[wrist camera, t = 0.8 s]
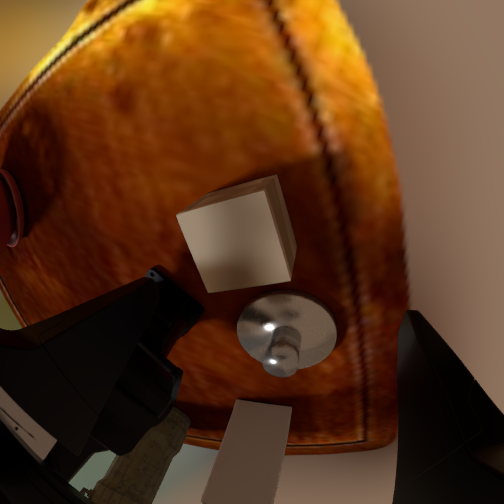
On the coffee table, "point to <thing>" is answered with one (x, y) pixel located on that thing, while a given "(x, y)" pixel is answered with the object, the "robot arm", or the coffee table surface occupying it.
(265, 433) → the milk carton
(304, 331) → the post stand
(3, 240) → the plant pot
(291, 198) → the coffee table surface
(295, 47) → the coffee table surface
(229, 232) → the beige wooden cube
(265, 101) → the coffee table surface
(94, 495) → the thermos
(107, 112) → the coffee table surface
